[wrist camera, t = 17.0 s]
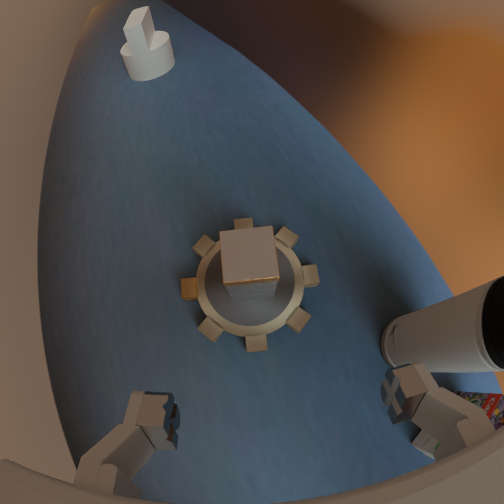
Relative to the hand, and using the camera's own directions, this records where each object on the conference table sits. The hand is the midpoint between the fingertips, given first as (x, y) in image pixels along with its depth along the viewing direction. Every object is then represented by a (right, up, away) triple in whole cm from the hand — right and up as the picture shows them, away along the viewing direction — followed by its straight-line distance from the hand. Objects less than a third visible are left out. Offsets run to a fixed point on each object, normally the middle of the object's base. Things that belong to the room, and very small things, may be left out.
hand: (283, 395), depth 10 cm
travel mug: (+16, -5, +19) cm, 25 cm away
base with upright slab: (-20, +40, +35) cm, 57 cm away
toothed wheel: (-1, +2, +21) cm, 22 cm away
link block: (-1, +3, +20) cm, 20 cm away
